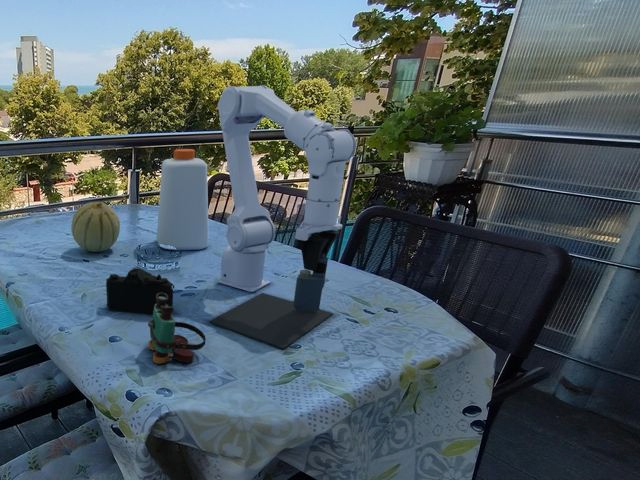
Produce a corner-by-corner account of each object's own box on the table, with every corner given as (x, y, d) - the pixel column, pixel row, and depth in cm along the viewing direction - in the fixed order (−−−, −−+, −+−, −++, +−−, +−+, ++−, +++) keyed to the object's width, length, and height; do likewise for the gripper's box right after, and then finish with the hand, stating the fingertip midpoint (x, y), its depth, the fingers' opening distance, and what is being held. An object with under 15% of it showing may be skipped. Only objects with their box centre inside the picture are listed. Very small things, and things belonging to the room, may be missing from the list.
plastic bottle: (210, 250, 137) (215, 151, 126) (159, 252, 137) (160, 153, 126) (202, 236, 151) (206, 146, 140) (155, 238, 151) (156, 148, 140)
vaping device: (321, 311, 93) (330, 256, 88) (294, 310, 94) (301, 255, 89) (319, 306, 96) (327, 251, 91) (292, 305, 97) (299, 250, 92)
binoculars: (216, 311, 75) (155, 310, 74) (206, 368, 79) (148, 367, 78) (201, 290, 83) (146, 289, 82) (193, 342, 87) (141, 341, 86)
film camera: (179, 300, 104) (180, 261, 101) (170, 318, 96) (170, 277, 92) (115, 293, 109) (114, 257, 105) (101, 310, 100) (99, 271, 97)
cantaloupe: (92, 241, 150) (90, 194, 144) (130, 247, 142) (129, 198, 136) (62, 253, 139) (58, 203, 133) (101, 261, 131) (98, 208, 125)
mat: (209, 322, 93) (209, 320, 93) (262, 294, 105) (262, 292, 105) (283, 350, 82) (283, 348, 82) (333, 314, 95) (333, 313, 94)
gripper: (327, 208, 79) (316, 282, 85) (361, 195, 88) (349, 263, 94) (288, 203, 84) (280, 273, 89) (324, 191, 93) (314, 256, 98)
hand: (313, 267), depth 92 cm, fingers closed on vaping device, 2 cm apart
